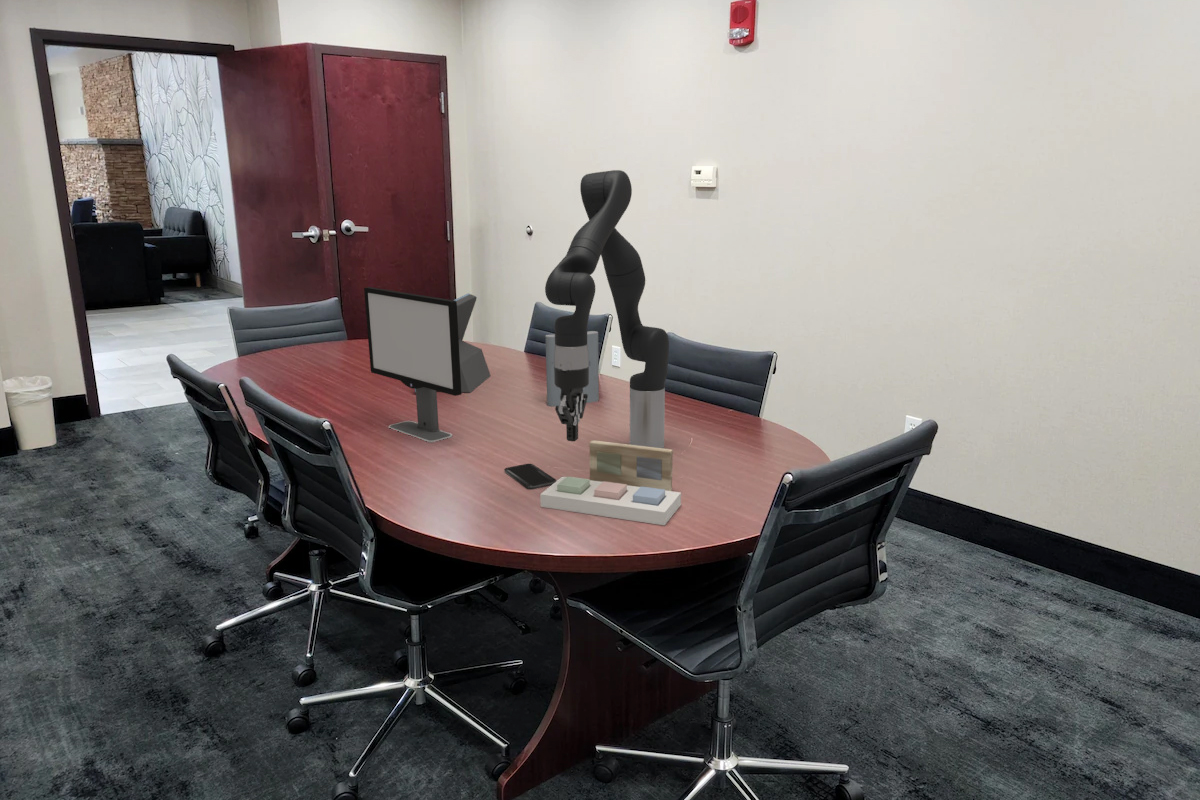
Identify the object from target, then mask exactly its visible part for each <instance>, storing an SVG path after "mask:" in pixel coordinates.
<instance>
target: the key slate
mask: <svg viewBox="0 0 1200 800" xmlns="http://www.w3.org/2000/svg"><path fill="white" fill-rule="evenodd" d="M664 498H665V490H664V489H657V488H649V487H642V486H641V487H640V488H639V489H638V490H637V491H636V492H635V493H634V494H633V502H635V503H642V504H649V505H656V506H659V504H660V503H661V502H662V501H663V500H664Z"/></svg>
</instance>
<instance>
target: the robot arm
mask: <svg viewBox="0 0 1200 800" xmlns="http://www.w3.org/2000/svg"><path fill="white" fill-rule="evenodd" d="M631 183H632V181H631V180H630V177H629V175H628V174H627V173H626V172H625V171H623V170H620V169H617V170H615V169H614V170H607V171H606V170H605V171H599V172H598V171H597V172H591V173H585V175H583V177H582V178H581V180H580V189H579V190H580V196H581V202H582V204H583V207H584V209H585V213H586V215H587V218H588V221H587V222H586V223H585V224H583V226H581V227H580V229H578V231H577V232H576V233H575V235H574V236H573V238H572V241H570V245H569V247H568V250H567V253H566V254H565V256H564V257H563V258H562V259H561V261H560V262H559V263H558V264H557V265H556V266H555V267H554V269H552V271H551V272H550V274H549V275H548V277H547V279H546V282H545V287H544V289H545V290H544V292H545V296H546V299H547V300H548V302H550V303H551V304H553V305H556V306H570V307H571V306H572V307H575V309H574V312H573V314H569V315H563V316H562V315H561V316H560V317H557V318H556V319H555V321H554V334H555V351H554V381H555V385H556V386H557V387H559V388H560V389H561V395H560V402H561V404H560V406H554V409H555V412H556V415H557V416H558V419H559V421H560V424H561V425H565V427H566V441H567V442H576V441H578V439H579V424H580V422H581V419H583V417H584V413H585V409H586V405H587V403H586V402H587V398H588V395H587V394H583V388H584V387H586V386H588V384H589V354H588V347H587V332H588V325H589V324H588V323H589V317H590V314H591V313H590V312H591V309H592V305H593V302H594V300H595V299H594V298H595V294H596V284H595V280H594V278H593V277H592V276H591V275H593V274H594V272H595V271H596V268H597V265H598V264H599V260H600V258H601V260H602V264H603V268H604V272H605V275H606V280H607V282H608V285H609V289H610V291H611V294H612V299H613V303H614V306H615V312H616V315H617V320H618V326H619V332H620V338H621V339H620V340H621V344H622V347H623V351H624V353H625V355H626V357H627V358H628V359H631V360H632V361H636V362H637V361H638V362H643V363H644V371H642V372H638V373H635V374H633V375H631V376H630V378H629V445H637V446H646V447H654V448H663V449H665V417H666V416H665V406H666V405H665V403H666V402H665V401H666V398H665V396H666V395H665V393H666V392H665V391H666V389H665V387H666V381H667V378H668V377H667V376H668V371H669V353H670V341H669V336H668V333H667V332H666V330H664V329H662V328H660V327H656V326H655V327H653V326H647V325H644V324H642V321H641V318H640V314H639V312H640V311H639V304H640V302H641V298H642V295H643V293H644V290H645V286H646V274H645V271H644V267H643V264H642V263H643V262H642V260H641V256H640V254H639V252H638V251H637V249H636V248H635V247H634V246H633V245H632V244H631V242H629V241H628V240H627V239H626V238H625V237H624V236H623V235H622V234H621V233H620V232H619V231H618V230H617V228H616V227H617V225H618V223H619V222H620V220H621V219H622V217H623V216H624V214H625V212H626V211H627V209H628V207H629V206H630V202H631V199H632V192H633V189H632V184H631Z"/></svg>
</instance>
